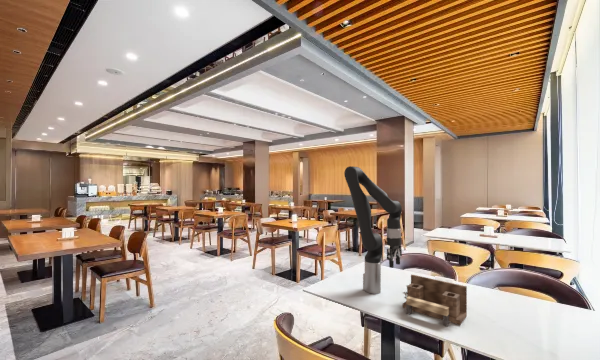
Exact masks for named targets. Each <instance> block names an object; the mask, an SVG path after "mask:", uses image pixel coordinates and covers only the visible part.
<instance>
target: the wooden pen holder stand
mask: <svg viewBox="0 0 600 360" xmlns="http://www.w3.org/2000/svg"><path fill="white" fill-rule="evenodd" d="M409 284H410V285H409ZM409 284H407V285H408V286H407V287H406V295H407V297H408V296H410V297H413V298H417V299H421V300H424V301H428V302H432V303H435V304H439V305H443V306H447V307H449V323H452V324H455V325H459V326H461V325H462V323H463V322H464V320H465V319H466V318H467V315H468V314H467V312H468V308H467V307H468V305H467V303H468V301H467V295H468V294H467V293H468V292H467V291H468V290H467V289H468V287H467V286H466V285H463V284H462V285H461V284H457V283H453V282H449V281H443V280H439V279H435V278H430V277H427V276H421V275H418V274H417V275H416V274H410V283H409ZM402 308H403V309H406V301H403V303H402ZM412 312H416V313H418V314H419V313H420V314H423V315H426V316H430V317H432V318H436V319H440V320H442V321H443V315H441V314H438V313H434V312H431V311H428V310H424V309H421V308H417V307H414V306H412Z"/></svg>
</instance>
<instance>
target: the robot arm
mask: <svg viewBox="0 0 600 360" xmlns="http://www.w3.org/2000/svg"><path fill="white" fill-rule="evenodd" d="M344 169H345V170H344V173H343V174H344V179H345V182H346V184H347V187H348V189H349V193H350V196H351V199H352V200H351V201H352V203H353V207H354V212H355V214H356V218H357V222H358V226H359V229H360V236H361V237H360V238H361V243H362V245H363V247H364V249H365V250H367V252H366V254H365V255H364V273H363V274H362V276H363V277H362V290H363V291H364V292H366V293H369V294H375V295H377V294H380V293H381V290H382V285H381V284H382V274H381V273H382V262H381V261H382V258H383V248H384V247H383V246H384V244H383V238H382V236H381V235H380V234H379V233H375V232H373V229H372V221H371V220H372V207H371V204H370V201H369V199H368V197H367V196H366V193H364V191H363V189H362V187H363V188H364V189H365V190H366V192H367V193H368V195H369V196H370V197H372V198H373V200H375V201H376V202H377V203H378V204H379V205H380V207H381V208H382V209H383V210H384V211H385V212H386V213H388V214H389V216H388V218H387V219H386V244H387V246H389V248H386V260H387V261H388V266H389V268H391V269H392V268H394V267H395V265H401V257H402V256H403V253H402V232H401V230H402V229H401V218H402V217H401V216H402V210H403V208H402V207H403V206H402V204H401V202H399V201H398V200H392V199H391V198H390V197H389V195H388V194H387V192H385V190H383V189H382V188H381V187H379V186H378V185H377V184H376V183H375V182H374V181H373V180H371V178H370V177H369V176H368V175H367V174H366V172H365V171H364V170H362V169H361V167H358V166H347V167H346V168H344ZM361 186H362V187H361ZM394 259H395V260H394ZM394 261H395V265H394Z"/></svg>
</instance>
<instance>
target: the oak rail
mask: <svg viewBox="0 0 600 360" xmlns="http://www.w3.org/2000/svg"><path fill="white" fill-rule="evenodd" d="M405 300H406V301H405V302H406V308H405V309H406V315H409V316H410V315H411V314H412V313H413V311H412V306H414V307H417V308H421V309H424V310H428V311H431V312H434V313H438V314H441V315H443V320H442V325H443V326H444V327H448V326H449V325H450V322H449V307H447V306H443V305H439V304H435V303H432V302H428V301H424V300H421V299H417V298H413V297H410V296H408V297H407V298H406V297H405Z"/></svg>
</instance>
